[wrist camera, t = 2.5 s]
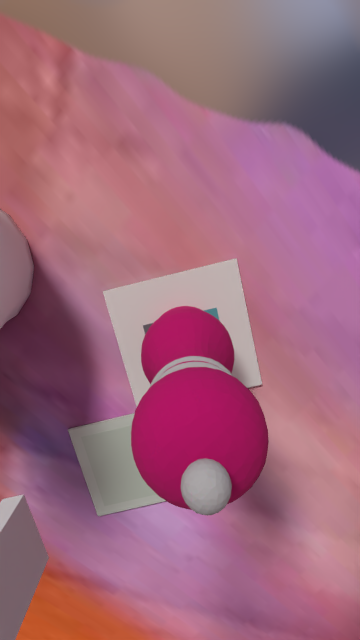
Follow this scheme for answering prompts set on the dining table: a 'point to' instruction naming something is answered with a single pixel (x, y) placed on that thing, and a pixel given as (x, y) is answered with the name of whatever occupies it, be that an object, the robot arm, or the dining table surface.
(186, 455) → the pepper mill
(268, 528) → the dining table surface
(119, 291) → the tile
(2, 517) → the robot arm
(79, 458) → the coaster
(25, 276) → the vase
